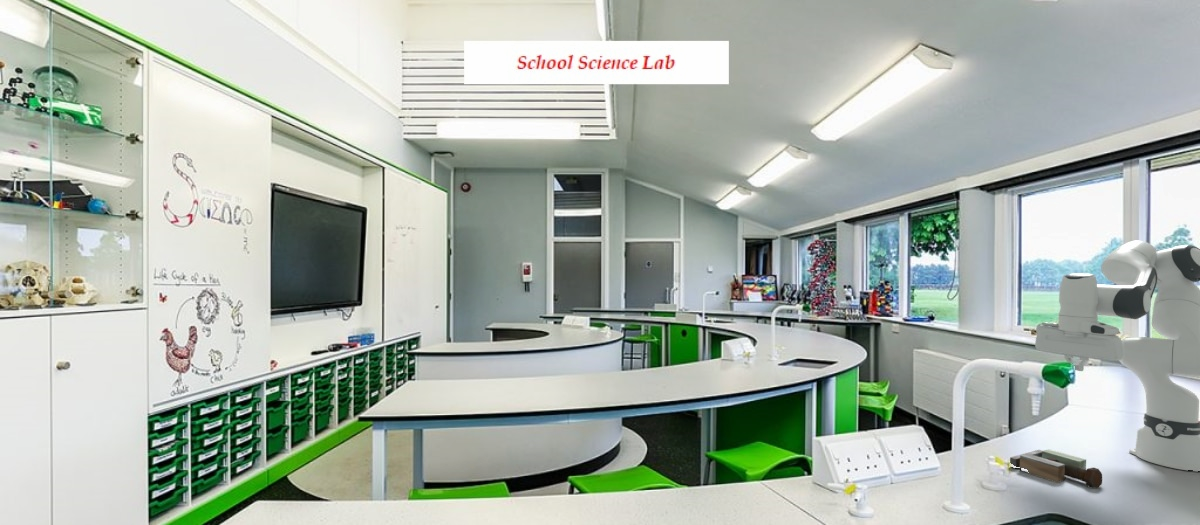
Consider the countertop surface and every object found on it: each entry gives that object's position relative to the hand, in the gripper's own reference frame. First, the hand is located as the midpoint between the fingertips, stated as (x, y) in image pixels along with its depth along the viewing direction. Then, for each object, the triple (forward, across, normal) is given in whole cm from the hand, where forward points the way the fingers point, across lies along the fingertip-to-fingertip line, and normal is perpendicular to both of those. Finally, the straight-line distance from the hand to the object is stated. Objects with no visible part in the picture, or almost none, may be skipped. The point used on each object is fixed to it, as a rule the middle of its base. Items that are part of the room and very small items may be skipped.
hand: (1076, 370), depth 158 cm
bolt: (+30, +4, -15) cm, 33 cm away
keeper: (+29, -1, -14) cm, 32 cm away
